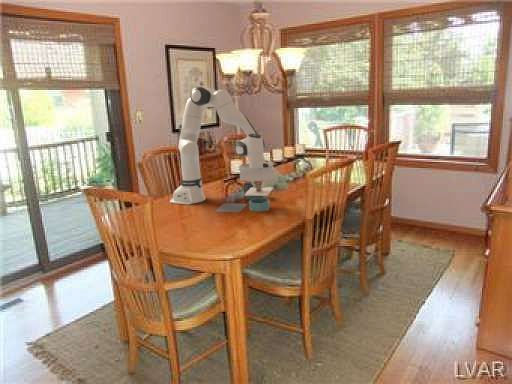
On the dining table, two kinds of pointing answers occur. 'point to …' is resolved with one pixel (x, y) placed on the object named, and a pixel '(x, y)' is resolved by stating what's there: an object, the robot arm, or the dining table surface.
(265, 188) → the cover sheet
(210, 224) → the dining table surface
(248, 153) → the robot arm
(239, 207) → the mat
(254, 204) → the bowl
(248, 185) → the small box
